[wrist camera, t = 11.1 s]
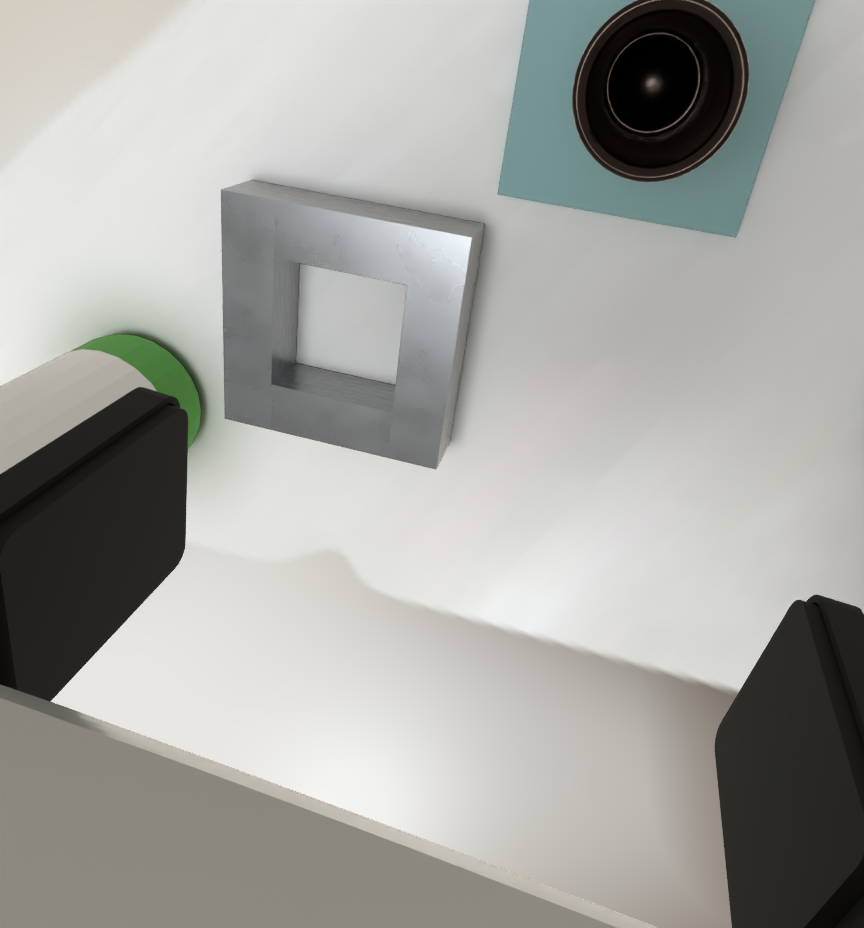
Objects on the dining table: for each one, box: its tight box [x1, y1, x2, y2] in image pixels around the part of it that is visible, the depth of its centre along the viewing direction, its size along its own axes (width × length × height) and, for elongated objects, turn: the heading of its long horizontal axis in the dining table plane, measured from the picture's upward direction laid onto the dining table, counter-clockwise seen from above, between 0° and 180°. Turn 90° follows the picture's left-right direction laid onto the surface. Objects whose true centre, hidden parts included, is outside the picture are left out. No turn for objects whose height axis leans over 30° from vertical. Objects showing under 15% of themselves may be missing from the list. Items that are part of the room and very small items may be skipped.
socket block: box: [221, 180, 485, 469], centre depth 35 cm, size 11×11×3 cm
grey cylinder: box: [572, 0, 750, 183], centre depth 24 cm, size 4×4×10 cm
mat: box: [498, 0, 815, 237], centre depth 28 cm, size 10×10×1 cm
